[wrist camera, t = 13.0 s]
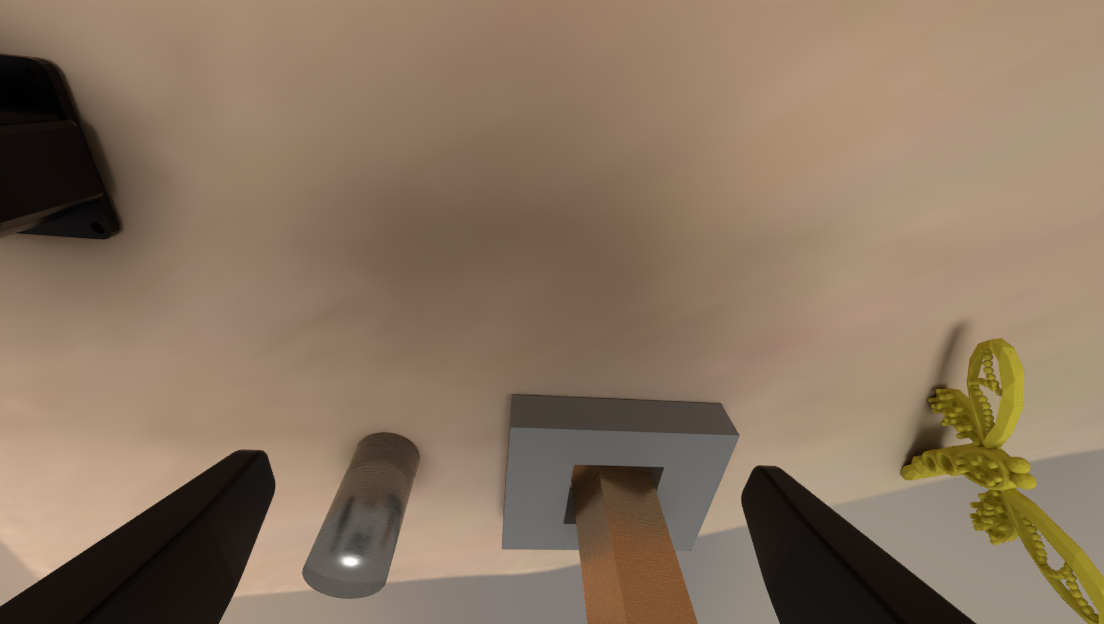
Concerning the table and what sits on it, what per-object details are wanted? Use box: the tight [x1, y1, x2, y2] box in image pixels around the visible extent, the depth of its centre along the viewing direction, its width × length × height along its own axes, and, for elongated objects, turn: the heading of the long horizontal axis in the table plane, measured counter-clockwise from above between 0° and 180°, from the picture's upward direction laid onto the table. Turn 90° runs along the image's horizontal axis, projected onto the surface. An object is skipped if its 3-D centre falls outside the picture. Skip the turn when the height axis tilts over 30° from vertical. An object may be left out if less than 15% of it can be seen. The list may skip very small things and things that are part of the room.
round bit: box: [302, 433, 419, 599], centre depth 22 cm, size 4×4×7 cm
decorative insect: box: [901, 338, 1104, 624], centre depth 24 cm, size 13×3×10 cm
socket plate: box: [502, 395, 740, 551], centre depth 26 cm, size 12×10×2 cm
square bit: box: [571, 465, 698, 624], centre depth 22 cm, size 3×3×12 cm
